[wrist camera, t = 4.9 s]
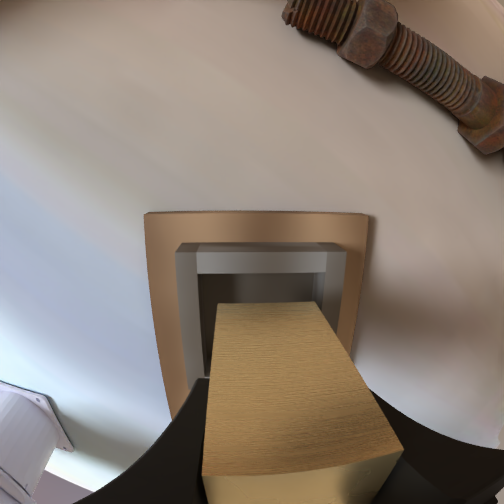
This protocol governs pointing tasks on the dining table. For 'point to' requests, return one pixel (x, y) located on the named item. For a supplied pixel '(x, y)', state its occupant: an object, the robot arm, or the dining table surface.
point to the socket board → (245, 276)
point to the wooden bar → (290, 412)
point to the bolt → (406, 61)
